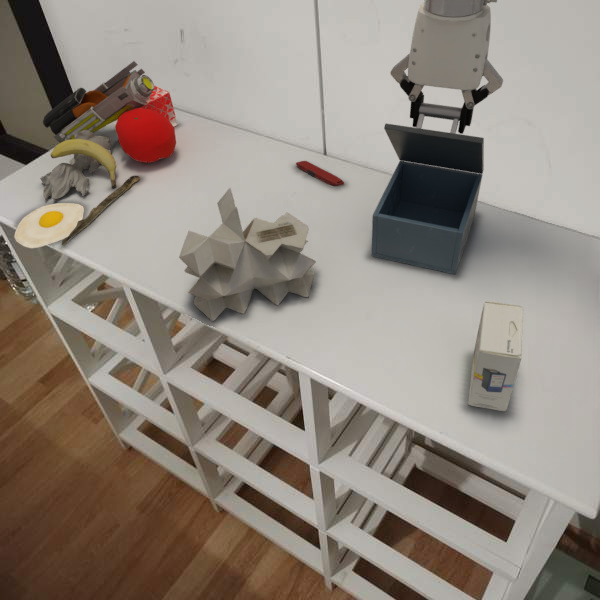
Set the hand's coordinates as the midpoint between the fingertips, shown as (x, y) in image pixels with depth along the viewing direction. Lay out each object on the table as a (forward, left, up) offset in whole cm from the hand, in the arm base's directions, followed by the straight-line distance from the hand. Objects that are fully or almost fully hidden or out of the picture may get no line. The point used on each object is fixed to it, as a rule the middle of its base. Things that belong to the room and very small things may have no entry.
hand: (439, 124), depth 85 cm
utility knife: (+15, -20, -19) cm, 32 cm away
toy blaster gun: (+60, -38, -12) cm, 72 cm away
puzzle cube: (+53, -50, -16) cm, 74 cm away
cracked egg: (+69, -16, -20) cm, 73 cm away
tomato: (+50, -34, -10) cm, 61 cm away
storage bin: (+1, +2, -20) cm, 20 cm away
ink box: (+1, +33, -20) cm, 39 cm away
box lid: (0, 0, -5) cm, 5 cm away
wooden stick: (+59, -18, -20) cm, 65 cm away
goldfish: (+61, -29, -22) cm, 72 cm away
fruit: (+62, -29, -17) cm, 70 cm away
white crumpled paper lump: (+31, +14, -15) cm, 37 cm away
